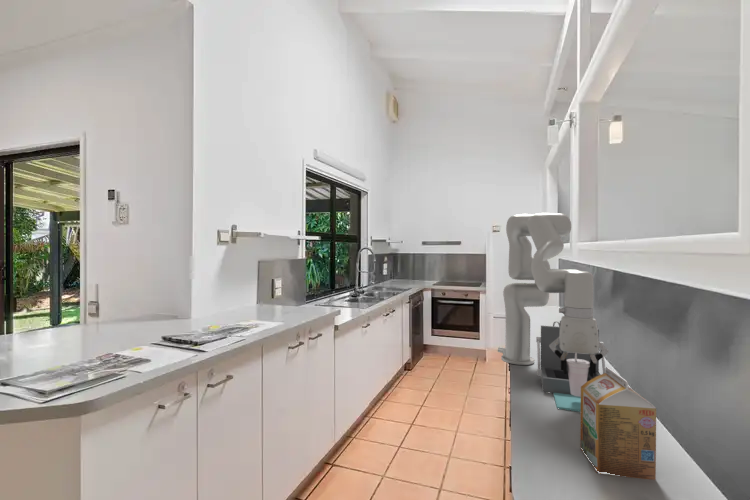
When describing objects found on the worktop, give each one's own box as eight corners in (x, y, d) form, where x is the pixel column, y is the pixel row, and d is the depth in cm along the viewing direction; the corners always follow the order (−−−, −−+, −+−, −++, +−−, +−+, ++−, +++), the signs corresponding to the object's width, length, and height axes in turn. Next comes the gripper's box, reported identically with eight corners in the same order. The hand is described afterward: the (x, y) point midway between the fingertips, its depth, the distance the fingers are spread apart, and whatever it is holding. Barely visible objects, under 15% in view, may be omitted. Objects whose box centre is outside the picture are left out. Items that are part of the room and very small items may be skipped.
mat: (557, 408, 113) (557, 406, 113) (553, 394, 125) (553, 392, 125) (605, 415, 109) (605, 412, 109) (596, 399, 121) (596, 397, 121)
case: (538, 391, 127) (538, 333, 127) (536, 377, 142) (536, 325, 142) (612, 400, 120) (613, 339, 120) (602, 384, 135) (602, 329, 135)
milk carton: (655, 479, 79) (656, 383, 79) (597, 474, 80) (598, 380, 80) (631, 453, 89) (631, 367, 89) (580, 448, 91) (581, 365, 91)
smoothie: (563, 389, 121) (563, 343, 121) (586, 391, 120) (586, 344, 120) (568, 397, 115) (569, 348, 115) (593, 399, 113) (593, 349, 113)
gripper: (547, 313, 116) (546, 374, 116) (615, 317, 111) (614, 381, 111) (545, 309, 123) (545, 367, 123) (609, 313, 118) (608, 373, 118)
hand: (577, 373), depth 117 cm, fingers closed on smoothie, 6 cm apart
